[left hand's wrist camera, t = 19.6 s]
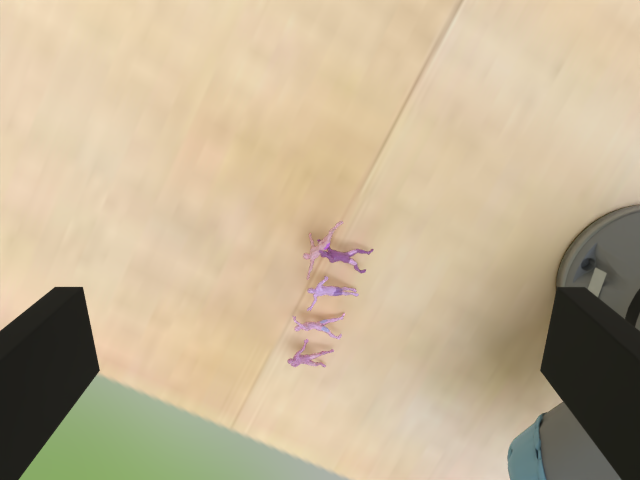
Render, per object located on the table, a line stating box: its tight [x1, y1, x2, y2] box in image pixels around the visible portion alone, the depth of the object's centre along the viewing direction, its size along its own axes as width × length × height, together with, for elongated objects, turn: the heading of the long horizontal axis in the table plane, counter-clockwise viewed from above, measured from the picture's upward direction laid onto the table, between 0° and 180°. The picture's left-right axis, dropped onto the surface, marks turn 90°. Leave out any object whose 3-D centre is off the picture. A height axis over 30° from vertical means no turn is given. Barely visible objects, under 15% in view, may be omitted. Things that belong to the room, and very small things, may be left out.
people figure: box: [288, 221, 373, 367], centre depth 46 cm, size 18×6×8 cm
